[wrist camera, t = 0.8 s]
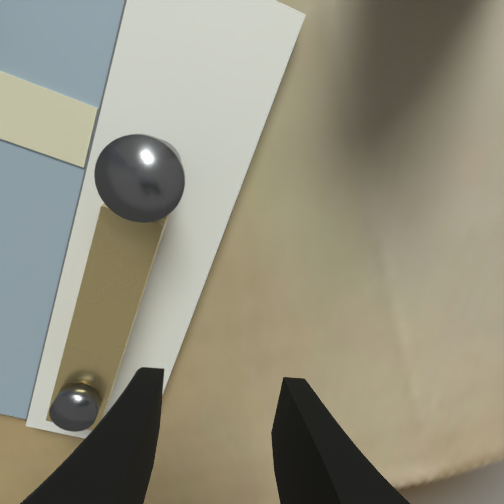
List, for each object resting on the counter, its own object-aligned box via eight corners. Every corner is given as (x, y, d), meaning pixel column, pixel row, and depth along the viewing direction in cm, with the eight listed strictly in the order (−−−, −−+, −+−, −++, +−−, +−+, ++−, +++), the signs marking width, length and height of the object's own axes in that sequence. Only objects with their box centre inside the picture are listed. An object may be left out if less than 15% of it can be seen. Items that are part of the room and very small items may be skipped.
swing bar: (116, 191, 15) (94, 212, 13) (170, 210, 16) (160, 233, 13) (65, 385, 18) (37, 435, 16) (110, 396, 19) (92, 447, 16)
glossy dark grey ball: (118, 180, 16) (85, 205, 12) (136, 115, 16) (106, 120, 12) (181, 202, 17) (169, 233, 13) (202, 140, 16) (195, 154, 12)
